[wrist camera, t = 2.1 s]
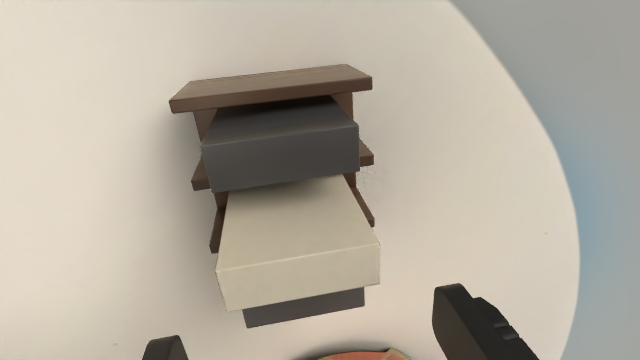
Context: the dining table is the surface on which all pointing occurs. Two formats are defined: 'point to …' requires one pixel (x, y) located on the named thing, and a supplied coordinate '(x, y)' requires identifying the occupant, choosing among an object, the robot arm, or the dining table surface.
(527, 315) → the dining table surface
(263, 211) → the white box
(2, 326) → the dining table surface
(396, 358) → the planter
